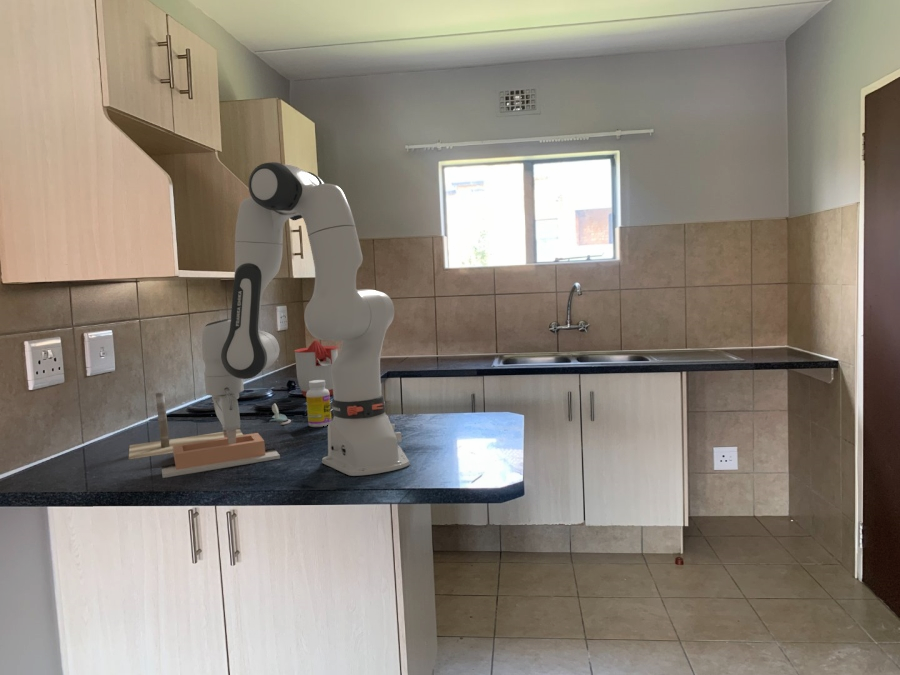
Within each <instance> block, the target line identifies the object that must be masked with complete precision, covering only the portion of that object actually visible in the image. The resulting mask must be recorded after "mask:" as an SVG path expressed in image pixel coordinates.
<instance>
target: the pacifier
mask: <svg viewBox="0 0 900 675" xmlns="http://www.w3.org/2000/svg"><path fill="white" fill-rule="evenodd" d="M271 410H272V411H271V412H272V413H273V414H274V415H273V416H272V417H271V418H273V419H270V420H269V422H277V423H278V424H279V425H280V426H284V425H288V424H290V423H291V422H292V420H291V419H289V418H288V417H287V416H286V415H285V414H283V413H280V411H279V407H278V406H277V404H276V403H272V405H271Z"/></svg>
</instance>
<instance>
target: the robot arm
mask: <svg viewBox="0 0 900 675" xmlns="http://www.w3.org/2000/svg"><path fill="white" fill-rule="evenodd" d="M248 192H249V194H250V196H249V197H247V198H244V199H243V200H242V201H241V203H240V204H239V207H238V212H237V217H236V224H235V233H234V235H235V237H234V241H235V242H234V274H233V275H234V277H233V278H234V279H233V287H232V288H233V290H232V297H231V298H232V299H231V313H230V318H224V319H221V320H216V321H211V322H208V323H207V324H205V325H204V327H203V328H202V332H201V351H202V352H201V353H202V360H203V362H204V367H205V368H204V369H205V370H204V372H203V373H204V385H205V394H206V396H211V399H212V402H213V407H214V408H213V409H214V411H215V415H216V417H217V419H218V420H219V422H220V423H221V427H222V432H223V435H224V437H225V438H226V437H228V438H227V439H228V444H234V443H236V430H239V429H240V428H241V418H240V408H239V401H238V399H239V398H240V393H242V392H244V390H245V389H244V380H247V379H253V378H254V377H256V376H258V375H259V374H261V373H262V371H264V370H266V369H268V368H269V367H271V366H273V365H274V363H276V362H277V360H278V359H279V356H280V353H281V346H280V344H279V341H278V339H277V337H276V336H274V334H272V333H271V332H269V331H264V330H260V323H261V322H260V320H261V306H262V298H263V294H264V292H265V290H266V288H267V287H268V285H269V283H271V282H272V281H273V279H274V278H275V277H276V276H277V275H278V273H279V272H280V268H281V264H282V259H283V252H284V251H283V250H284V248H283V242H284V241H283V238H284V236H283V235H284V227H285V224H286V222H287V221H288V220H289V219H290V220H292V221H297V220H300V219H303V222H304V224H305V228H306V232H307V237H308V241H309V246H310V250H311V255H312V259H313V260H312V261H313V266H314V277H315V278H314V287H313V292H312V297H311V299H310V300H309V302H308V303H307V304H306V306H305V309H304V314H303V315H304V318H303V319H304V323H305V327H306V329H307V331H308V332H309V333H310V335H311V336H312V337H313V338H314V339H317V340H320V341H329V342H338V341H341V347H340V350H339V353H338V357H337V358H336V359H335V361H334V362H333V365H332V383H333V395H332V396H333V398H332V400H331V410H332V415H333V418H332V419H331V421H332V422H331V423H330V424H329V425H328V426H327V452H328V454H327V456H324V457H322V459H321V460H322V461H321V463H322V464H324V465H325V466H328V467H329V468H332V469H334V470H337V471H339V472H341V473H343V474H346V475H348V476H351V477H352V476H353V477H355V476H356V477H357V476H368V475H376V474H381V473H388V472H392V471H396V470H400V469H404V468H406V467H408V466H410V460H409V458H408V457H407V456H406V453H405V452H404V450H403V449H402V447H401V446H400V445H398V443H401V442H402V441H403V440H402V438H403V436H402V432H401V431H395V430H396V426H395V423H391V421H390V419H389V418H390V417H389V416H388V415H387V413H386V412H387V408H386V402H385V398H384V395H383V394H382V385H381V381H382V380H381V357H382V350H383V345H384V341H385V336H386V333H387V331H388V328H389V327H390V325H391V324H392V323H393V320H394V319H395V312H396V310H395V306H394V302H393V300H392V299H391V297H390V296H389V295H388V294H386V293H384V292H383V291H381V290H380V291H379V290H375V289H372V288H371V289H370V288H363V289H362V288H361V289H358V288H357V273H358V270H359V268H360V267H361V266H362V264H363V261H364V259H363V252H362V248H361V244H360V240H359V236H358V232H357V228H356V227H357V226H356V223H355V219H354V216H353V212H352V210H351V207H350V204H349V203H348V200H347V198H346V195H345V193H344V191H343V190H342V189H341V187H339V186H338V185H336V184H333V183H325V182H324V181H323V180H322V179H321V178H320V177H319V176H318V175H316V174H315V173H312V172H310V171H306V170H304V169H301V168H299V167H297V166H294V165H291V164H283V163H280V162H275V161H274V162H273V161H272V162H270V161H268V162H264V163H261V164H259V165H258V166H256V167H255V168H254V169H253V170H252V172H251V173H250V175H249V178H248Z"/></svg>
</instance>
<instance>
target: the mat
mask: <svg viewBox="0 0 900 675" xmlns="http://www.w3.org/2000/svg"><path fill="white" fill-rule="evenodd" d="M279 459H281V455H280V454H279V452H278V451H277V450H276V449H275V447H274V448H268V449H265V455H263V456H257V457H251V458H245V459H238V460H232V461H226V462H220V463H214V464H208V465H202V466H195V467H189V468H183V469H177V470H176V466H175V463H174V464H167V465H161V468H160V469H161V475H162V479H164V478H165V479H166V478H172V477H176V476H178V477H179V476H182V475H188V474H196V473H201V472H207V471H212V470H218V469H225V468H231V467H236V466H243V465H249V464H255V463H260V462H267V461H273V460H279Z"/></svg>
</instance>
